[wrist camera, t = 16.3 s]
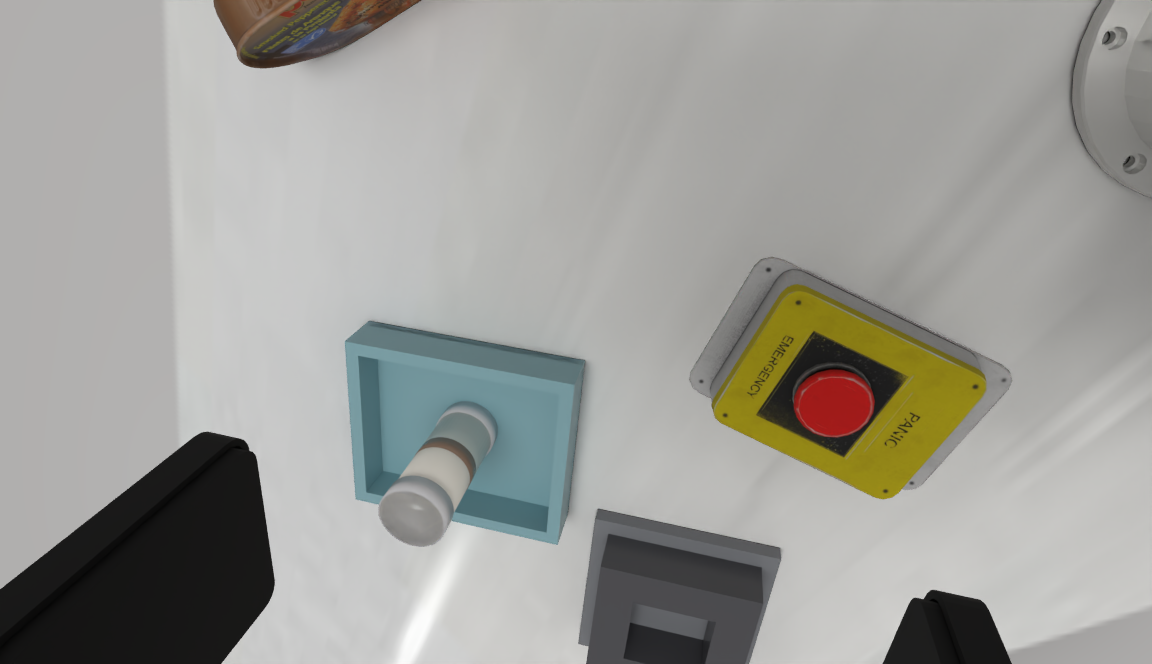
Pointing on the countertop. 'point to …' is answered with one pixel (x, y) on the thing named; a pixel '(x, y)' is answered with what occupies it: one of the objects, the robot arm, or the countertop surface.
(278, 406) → the countertop surface
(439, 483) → the fuse
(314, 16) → the tin
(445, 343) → the parts tray
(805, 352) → the emergency button
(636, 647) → the fuse panel
